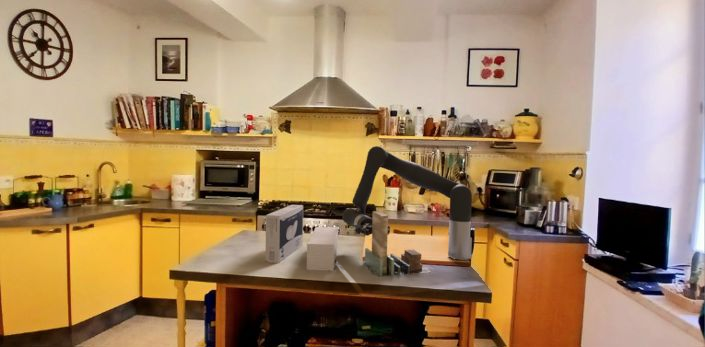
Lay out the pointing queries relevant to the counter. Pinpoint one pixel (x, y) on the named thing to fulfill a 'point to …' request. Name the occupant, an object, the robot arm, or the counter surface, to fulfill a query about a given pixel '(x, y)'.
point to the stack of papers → (322, 248)
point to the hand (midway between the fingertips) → (378, 232)
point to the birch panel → (380, 237)
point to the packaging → (283, 232)
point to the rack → (389, 265)
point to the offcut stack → (412, 259)
